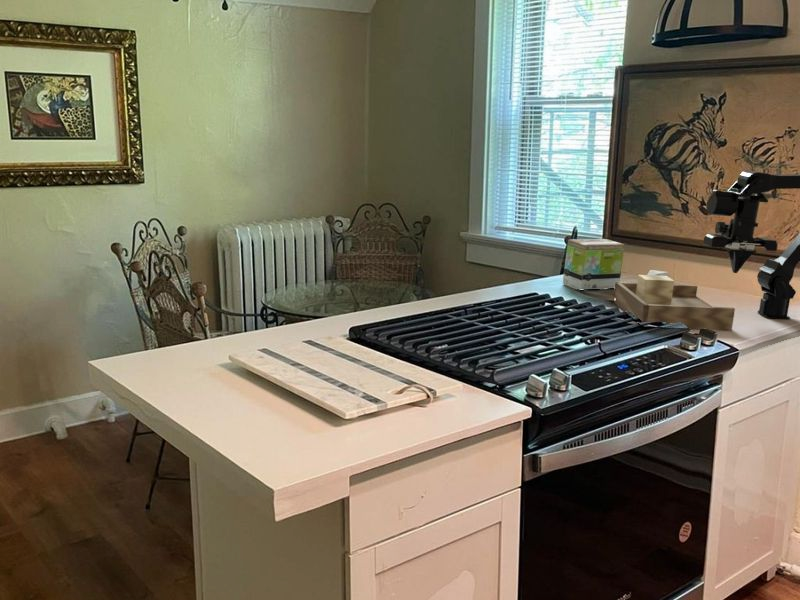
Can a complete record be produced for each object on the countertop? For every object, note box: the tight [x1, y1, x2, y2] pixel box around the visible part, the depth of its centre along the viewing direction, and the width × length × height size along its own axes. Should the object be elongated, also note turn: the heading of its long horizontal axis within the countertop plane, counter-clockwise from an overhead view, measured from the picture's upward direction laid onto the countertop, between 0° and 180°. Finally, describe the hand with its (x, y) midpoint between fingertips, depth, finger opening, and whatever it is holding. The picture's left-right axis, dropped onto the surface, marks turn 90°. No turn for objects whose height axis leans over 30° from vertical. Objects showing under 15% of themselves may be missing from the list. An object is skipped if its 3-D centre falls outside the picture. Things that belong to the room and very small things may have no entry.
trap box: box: [612, 281, 736, 332], centre depth 216 cm, size 24×26×6 cm
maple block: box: [636, 274, 675, 305], centre depth 215 cm, size 8×6×8 cm
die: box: [646, 269, 671, 278], centre depth 236 cm, size 8×9×10 cm
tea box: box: [562, 238, 626, 291], centre depth 246 cm, size 15×10×15 cm
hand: (734, 272), depth 218 cm, fingers closed
